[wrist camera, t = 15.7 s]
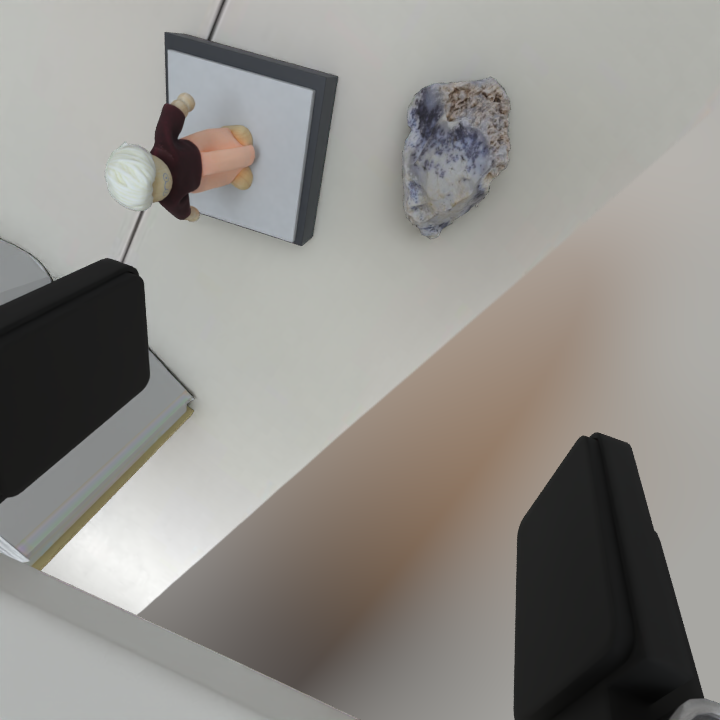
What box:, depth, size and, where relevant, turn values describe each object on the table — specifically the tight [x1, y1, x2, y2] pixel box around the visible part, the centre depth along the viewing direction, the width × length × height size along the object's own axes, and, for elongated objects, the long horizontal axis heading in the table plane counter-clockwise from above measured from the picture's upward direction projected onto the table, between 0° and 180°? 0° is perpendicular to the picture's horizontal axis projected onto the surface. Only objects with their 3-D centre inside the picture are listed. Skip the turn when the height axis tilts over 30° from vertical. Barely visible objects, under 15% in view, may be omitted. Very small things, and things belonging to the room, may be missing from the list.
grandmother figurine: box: [105, 93, 255, 222], centre depth 29 cm, size 8×4×13 cm, turn 1°
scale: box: [165, 32, 338, 246], centre depth 35 cm, size 12×12×3 cm
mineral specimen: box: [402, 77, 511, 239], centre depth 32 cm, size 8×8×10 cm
